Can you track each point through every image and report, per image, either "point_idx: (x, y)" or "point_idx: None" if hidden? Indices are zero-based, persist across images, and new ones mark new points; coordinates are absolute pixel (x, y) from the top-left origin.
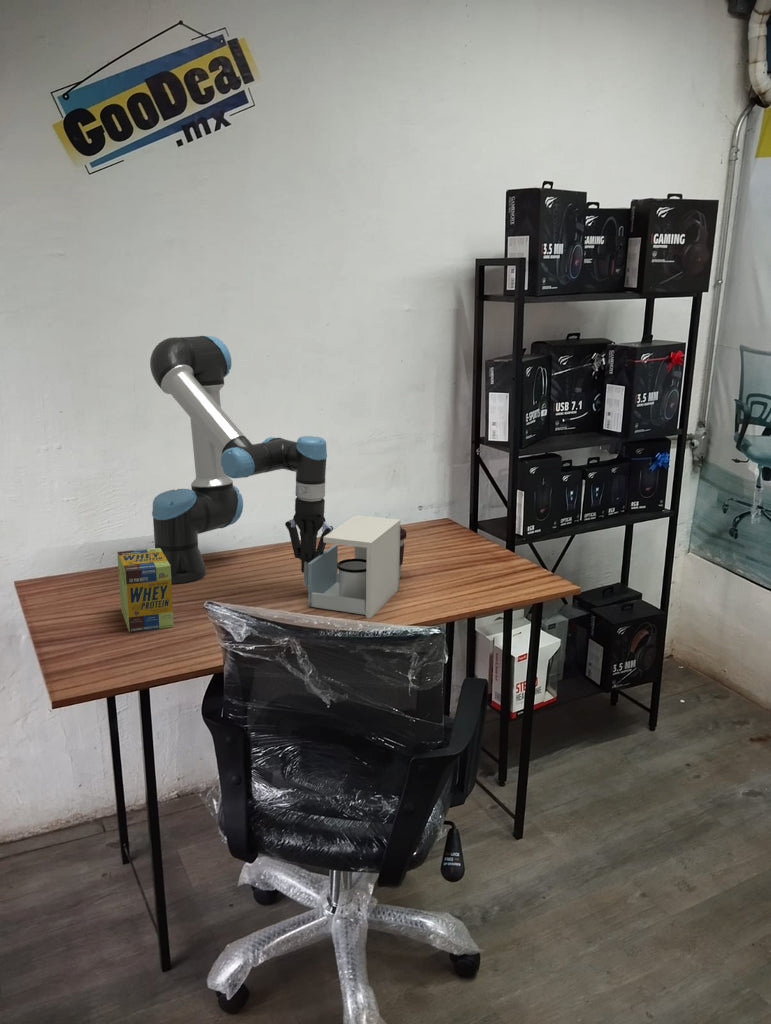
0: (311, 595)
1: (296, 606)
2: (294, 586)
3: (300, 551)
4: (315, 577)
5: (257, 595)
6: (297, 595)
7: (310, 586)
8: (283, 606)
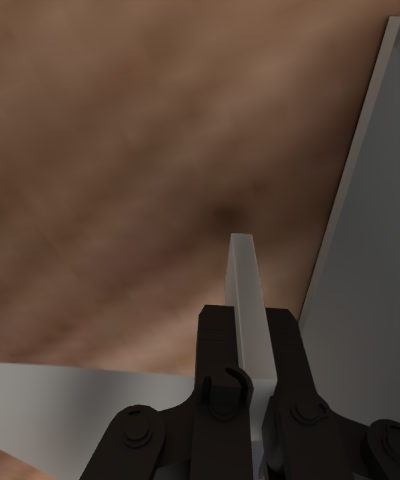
0: None
1: None
2: (109, 123)
3: (140, 477)
4: None
5: (16, 289)
6: (190, 248)
7: None
8: (185, 357)
